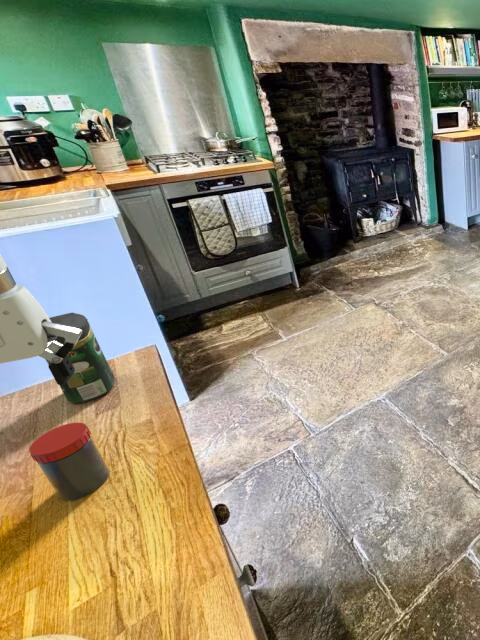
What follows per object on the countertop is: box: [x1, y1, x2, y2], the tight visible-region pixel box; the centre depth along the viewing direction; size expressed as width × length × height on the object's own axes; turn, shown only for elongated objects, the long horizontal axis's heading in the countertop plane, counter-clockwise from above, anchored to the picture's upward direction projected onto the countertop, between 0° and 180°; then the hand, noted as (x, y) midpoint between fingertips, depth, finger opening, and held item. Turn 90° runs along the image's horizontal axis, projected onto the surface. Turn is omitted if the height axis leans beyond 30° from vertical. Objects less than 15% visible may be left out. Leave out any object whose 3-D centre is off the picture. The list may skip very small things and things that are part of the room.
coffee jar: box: [44, 312, 115, 404], centre depth 88 cm, size 10×8×19 cm
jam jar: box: [36, 435, 111, 502], centre depth 69 cm, size 6×6×11 cm
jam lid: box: [28, 422, 92, 463], centre depth 67 cm, size 7×7×2 cm
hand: (29, 386), depth 62 cm, fingers open, 8 cm apart
